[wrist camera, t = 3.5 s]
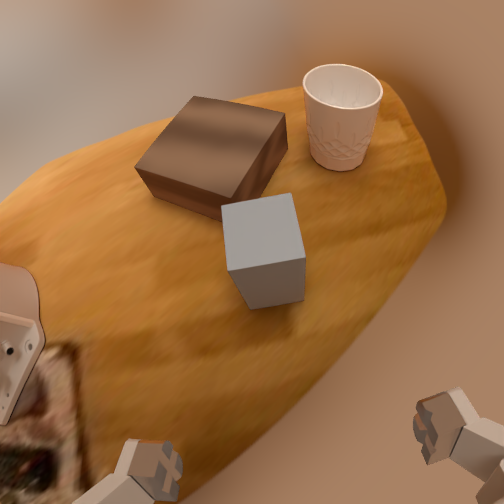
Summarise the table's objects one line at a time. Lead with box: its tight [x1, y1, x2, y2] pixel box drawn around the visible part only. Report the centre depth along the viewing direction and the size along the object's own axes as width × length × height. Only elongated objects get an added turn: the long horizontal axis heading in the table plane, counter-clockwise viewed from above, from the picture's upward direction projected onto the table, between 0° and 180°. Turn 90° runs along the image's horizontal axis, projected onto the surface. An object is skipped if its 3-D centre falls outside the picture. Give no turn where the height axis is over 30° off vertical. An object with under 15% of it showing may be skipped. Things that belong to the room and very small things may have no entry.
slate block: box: [221, 193, 306, 310], centre depth 26 cm, size 5×5×10 cm
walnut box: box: [134, 96, 288, 222], centre depth 34 cm, size 12×12×6 cm
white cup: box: [303, 64, 383, 171], centre depth 31 cm, size 8×8×10 cm
